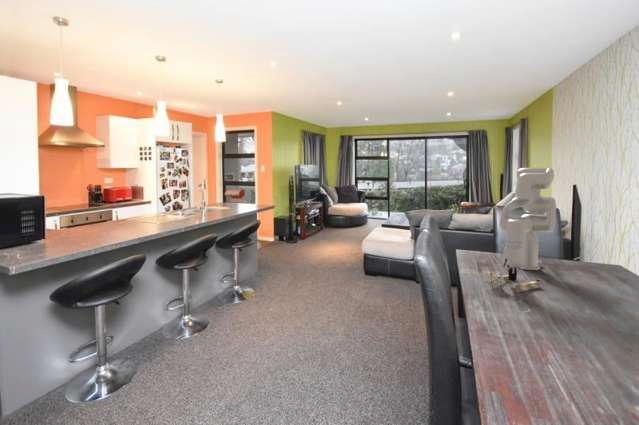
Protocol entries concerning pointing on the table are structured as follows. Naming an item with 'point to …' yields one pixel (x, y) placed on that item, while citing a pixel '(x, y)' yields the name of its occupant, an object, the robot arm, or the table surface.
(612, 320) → the table surface
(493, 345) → the table surface
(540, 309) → the table surface
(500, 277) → the game die
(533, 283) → the parallel beige rails
